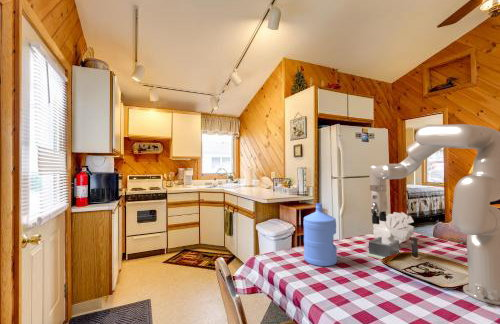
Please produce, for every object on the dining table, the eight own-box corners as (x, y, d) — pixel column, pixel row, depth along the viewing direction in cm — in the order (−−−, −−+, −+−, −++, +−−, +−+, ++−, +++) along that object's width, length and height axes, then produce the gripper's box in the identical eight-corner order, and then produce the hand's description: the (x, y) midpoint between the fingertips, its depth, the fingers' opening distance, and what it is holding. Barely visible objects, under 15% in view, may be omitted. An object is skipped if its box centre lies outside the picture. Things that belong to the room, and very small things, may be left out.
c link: (390, 258, 117) (389, 246, 117) (368, 253, 125) (368, 241, 125) (399, 251, 127) (399, 240, 127) (379, 247, 134) (378, 236, 134)
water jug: (314, 268, 108) (313, 206, 109) (298, 256, 123) (297, 202, 124) (344, 264, 112) (342, 204, 113) (325, 253, 127) (323, 201, 128)
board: (390, 261, 116) (390, 259, 116) (366, 255, 124) (366, 254, 124) (400, 253, 126) (400, 251, 126) (378, 248, 135) (378, 247, 135)
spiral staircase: (379, 253, 139) (393, 241, 156) (411, 246, 127) (422, 234, 144) (363, 222, 145) (379, 214, 162) (392, 213, 133) (405, 206, 150)
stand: (419, 260, 117) (418, 239, 117) (408, 257, 120) (407, 238, 120) (421, 257, 120) (420, 238, 120) (411, 255, 123) (410, 236, 123)
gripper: (379, 190, 114) (381, 226, 114) (391, 188, 126) (393, 220, 125) (363, 189, 120) (365, 224, 119) (376, 187, 132) (378, 219, 131)
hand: (379, 222), depth 122 cm, fingers open, 9 cm apart
